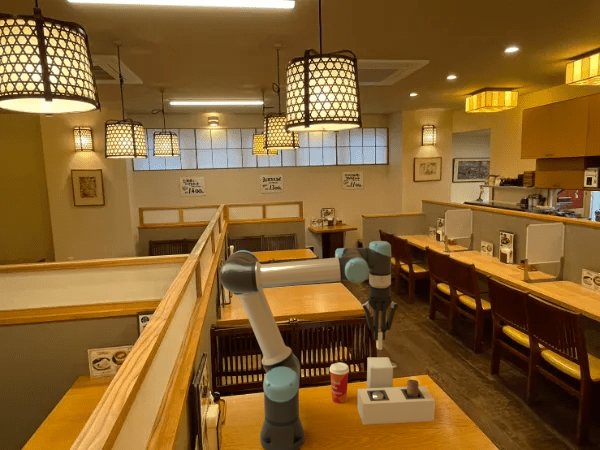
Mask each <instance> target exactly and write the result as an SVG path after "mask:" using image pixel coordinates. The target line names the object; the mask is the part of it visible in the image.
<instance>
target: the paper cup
mask: <svg viewBox="0 0 600 450" xmlns="http://www.w3.org/2000/svg"><path fill="white" fill-rule="evenodd" d="M329 372H330V386H331V399H332V402H334V403H335V404H344V403H346V401H347V398H348V397H347V395H348V384H349V383H348V380H349V379H348V378H349V372H350V369H349V366H348V364H347V363H345V362H339V361H338V362H335V363H331V365H330V367H329Z"/></svg>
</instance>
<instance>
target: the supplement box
mask: <svg viewBox="0 0 600 450" xmlns="http://www.w3.org/2000/svg"><path fill="white" fill-rule="evenodd" d="M366 359H367V360H366V361H367V362H366V363H367V365H366V366H367V367H366V368H367V369H366V370H367V371H366V372H367V373H366V389H367V388H388V387H394V385H393V383H394V380H393V379H394V367H393V365H392V362H391V360H390V358H389V357H386V356H385V357H383V356H382V357H375V356H374V357H369V356H368V357H367V358H366Z"/></svg>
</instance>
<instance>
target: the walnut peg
mask: <svg viewBox="0 0 600 450" xmlns="http://www.w3.org/2000/svg"><path fill="white" fill-rule="evenodd" d="M406 382H407V383H406V387H407V397H408V398H415V397H418V386H419V382H418V380H415V379H408V380H407V381H406Z"/></svg>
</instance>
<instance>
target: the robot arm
mask: <svg viewBox="0 0 600 450" xmlns="http://www.w3.org/2000/svg"><path fill="white" fill-rule="evenodd" d="M334 253H335V254H334V257H329V258H319V259H307V260H306V259H305V260H297V261H295V260H294V261H287V262H285V261H284V262H275V263H274V262H273V263H260V260H259V259H258V257H257V256H256V255H255V254H254V253H253V252H251V251H249V250H246V249H245V250H244V249H243V250H241V249H240V250H238V251H237V250H236V252H235V251H234V253H231V254H230V255H229V256H228V258H227V259H226V260H225V261H224V262H223V263H222V264H221V265H222V266H221V267H220V269H219V276H218V278H219V281H220V284H221V285H222V286H223V288H224V289H225V290H226V291H228V292H230V293H233V296H236V297H238V298H239V299H240V301H241V304H242V307H243V309H244V311H245V314H246V317H247V319H248V321H249V324H250V326H251V329H252V331H253V333H254V336H255V338H256V340H257V343H258V345H259V348H260V350H261V352H262V355H263V357H262V359H261V364H262V366H263V369H264V371H265V375H264V377H263V383H262V387H263V396H264V397H263V402H264V404H263V405H264V419H263V424H262V426H261V430H260V434H259V436H260V437H259V438H260V439H259V441H260V442H259V443H260V445H261V447H262V449H265V450H299V449H300V448H301V447H302V446H303V445H304V443H305V441H306V440H305V439H306V437H305V435H306V434H305V429H304V426H303V423H302V421H301V418H300V377H301V376H300V375H301V365H300V361H299V359H298V357H297V356H296V355H295V354H294V353H293V350H292V348H291V347H289V346H287V345H286V344H285V342H284V339H283V336H282V335H281V332H280V329H279V327H278V324H277V322H276V319H275V317H274V315H273V311H272V309H271V307H270V304H269V301H268V300H267V297H266V294H265V292H264V290H263V289H266V288H267V289H268V288H275V287H288V286H297V285H298V286H299V285H309V284H319V283H322V284H323V283H332V282H342V281H345V282H346V281H349V282H351V283H354V284H361V283H363V282H364V281H366V280H367V279H369V280H368V284H369V285H368V298H367V301H366V302H365V303H364V302H362V303H361V307H362V309H363V310H364V313H365V318H366V321H367V322H366V323H367V325H368V326H367V327H368V329H369V330H370V331H371V332H373V340H374V341H375V342H376V346H375V347H376V348H377V350H380V351H381V350H383V341H385V339H386V333H387V331H391V329H392V325H393V322H394V321H393V320H394V317H395V312H396V311H397V310H398V308H399V305H398V303H397V302H395V301H393V299H392V298H391V296H392V295H391V293H392V290H391V289H392V287H391V285H392V245H391V244H390V243H389V242H388V241H385V240H384V241H383V240H376V241H370V243H369V246H368V247H342V248H341V247H340V248H339V247H338V248H336V250H335V252H334ZM389 306H390V308H389ZM370 307H371V308H372V309H373V322H372V317H371V313H370V310H369V309H370ZM388 308H389V310H388V314H387V309H388ZM379 314H380V318H379ZM386 317H387V319H386ZM379 319H380V324H379ZM379 325H380V329H379Z"/></svg>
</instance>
